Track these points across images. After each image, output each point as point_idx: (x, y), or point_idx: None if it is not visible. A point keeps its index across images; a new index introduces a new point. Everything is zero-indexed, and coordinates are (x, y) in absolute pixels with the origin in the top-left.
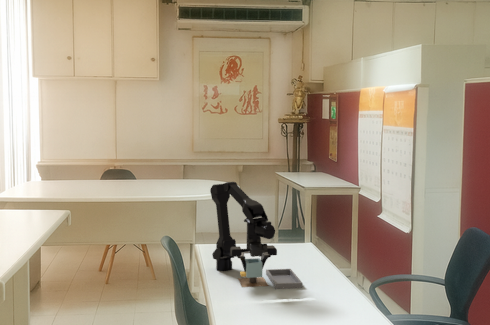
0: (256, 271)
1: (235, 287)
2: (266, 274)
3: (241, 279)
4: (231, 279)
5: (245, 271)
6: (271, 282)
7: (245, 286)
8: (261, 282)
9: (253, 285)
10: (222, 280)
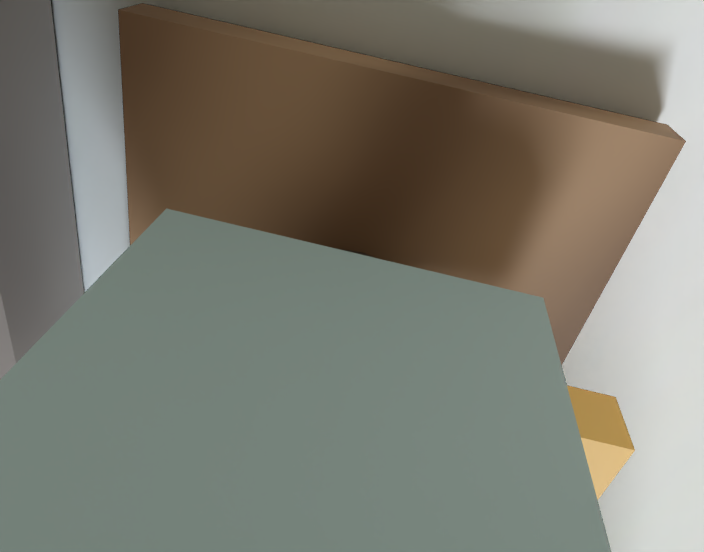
0: (270, 333)
1: (678, 276)
2: None
3: None
4: None
5: None
6: (42, 171)
7: (592, 148)
8: None
9: (410, 145)
10: (657, 531)
